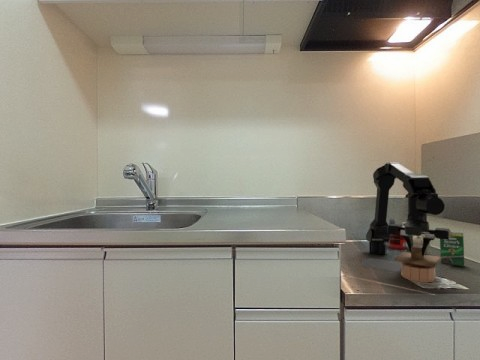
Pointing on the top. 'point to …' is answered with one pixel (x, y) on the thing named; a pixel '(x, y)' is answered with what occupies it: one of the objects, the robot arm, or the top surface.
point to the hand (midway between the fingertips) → (417, 255)
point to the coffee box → (452, 250)
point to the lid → (417, 257)
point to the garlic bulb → (419, 241)
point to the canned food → (397, 241)
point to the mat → (382, 264)
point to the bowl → (417, 272)
